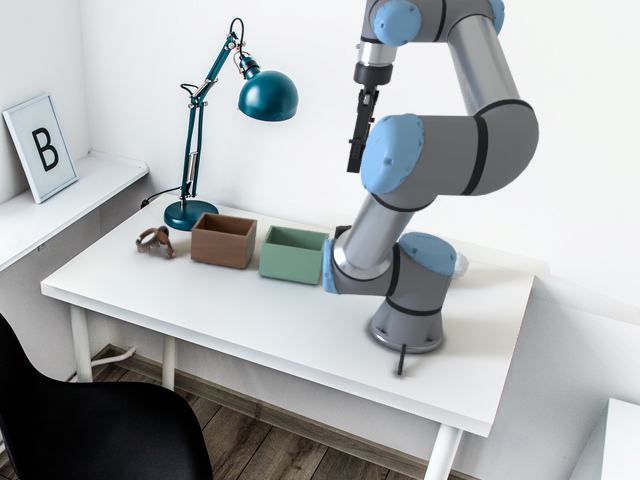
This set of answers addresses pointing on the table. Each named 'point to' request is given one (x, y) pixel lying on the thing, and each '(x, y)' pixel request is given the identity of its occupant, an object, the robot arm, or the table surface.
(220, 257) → the bottom basket
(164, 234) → the brown headphones
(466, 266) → the puffin
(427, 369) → the table surface
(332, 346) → the table surface
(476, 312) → the table surface
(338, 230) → the ink cartridge
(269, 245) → the box
